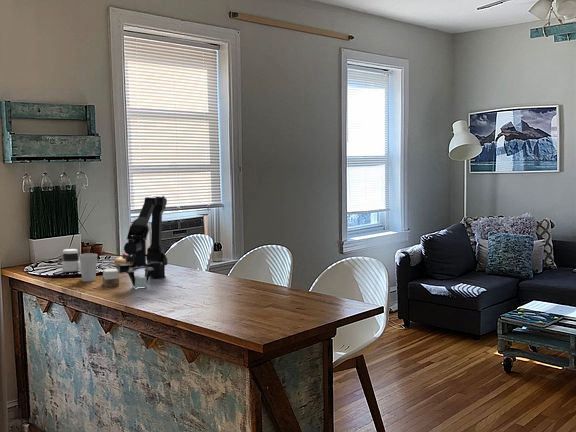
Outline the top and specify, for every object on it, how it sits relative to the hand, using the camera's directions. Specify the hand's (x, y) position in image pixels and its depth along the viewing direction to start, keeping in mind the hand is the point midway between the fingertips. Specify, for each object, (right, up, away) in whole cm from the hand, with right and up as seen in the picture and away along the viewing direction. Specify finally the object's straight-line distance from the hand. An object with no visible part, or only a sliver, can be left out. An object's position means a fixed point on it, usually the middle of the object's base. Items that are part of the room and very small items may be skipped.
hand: (139, 285), depth 278 cm
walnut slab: (-14, 0, +5) cm, 15 cm away
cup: (-27, +1, +13) cm, 30 cm away
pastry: (-17, +4, +42) cm, 45 cm away
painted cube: (0, -1, 0) cm, 1 cm away
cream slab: (-14, +3, +4) cm, 15 cm away
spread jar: (-39, +3, +27) cm, 47 cm away
